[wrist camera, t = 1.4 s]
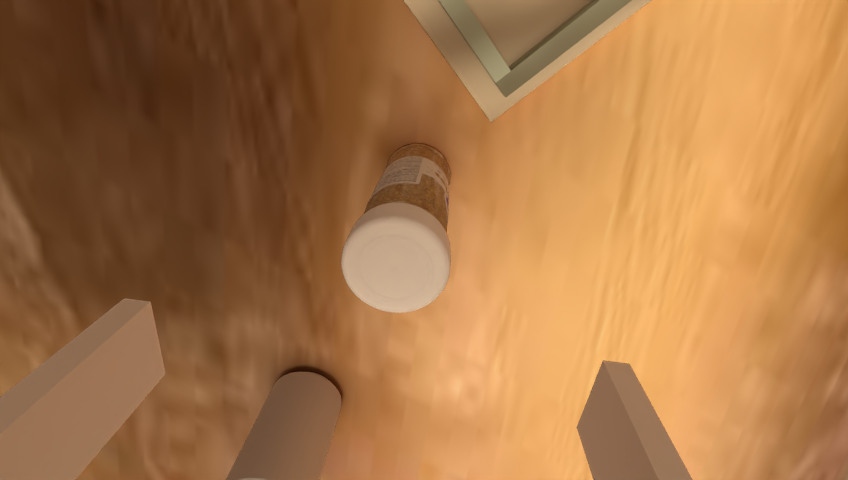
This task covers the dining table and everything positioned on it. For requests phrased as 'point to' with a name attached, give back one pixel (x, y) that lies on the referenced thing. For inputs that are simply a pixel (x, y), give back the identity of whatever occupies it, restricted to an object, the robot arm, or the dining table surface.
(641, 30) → the dining table surface
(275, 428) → the beverage can
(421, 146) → the sprinkles bottle
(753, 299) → the dining table surface
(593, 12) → the board
